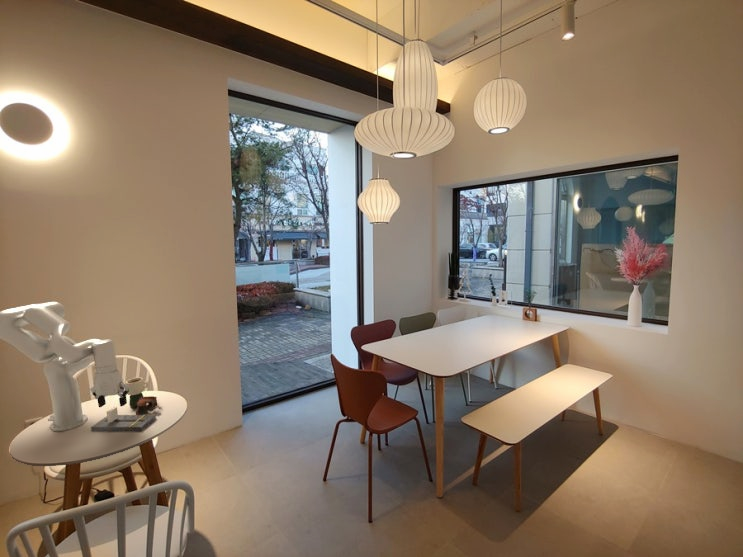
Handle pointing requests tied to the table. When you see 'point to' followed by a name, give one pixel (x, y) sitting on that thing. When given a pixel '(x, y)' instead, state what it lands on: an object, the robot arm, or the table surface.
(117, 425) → the console
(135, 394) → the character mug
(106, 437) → the table surface
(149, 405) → the pottery mug
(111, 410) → the fader tab
